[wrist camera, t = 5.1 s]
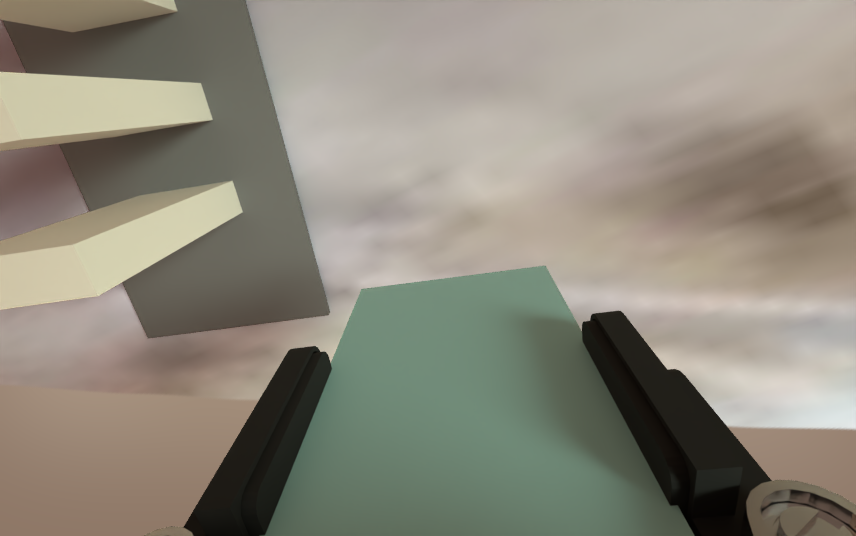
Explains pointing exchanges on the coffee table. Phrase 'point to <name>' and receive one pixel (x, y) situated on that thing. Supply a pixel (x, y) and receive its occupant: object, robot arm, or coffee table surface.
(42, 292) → the domino
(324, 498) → the teal domino
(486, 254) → the coffee table surface
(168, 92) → the domino
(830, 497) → the robot arm
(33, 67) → the domino mat
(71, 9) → the domino
